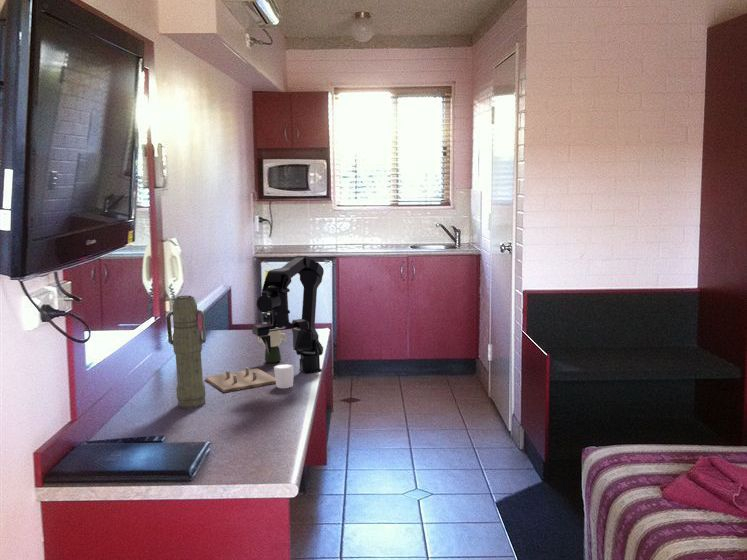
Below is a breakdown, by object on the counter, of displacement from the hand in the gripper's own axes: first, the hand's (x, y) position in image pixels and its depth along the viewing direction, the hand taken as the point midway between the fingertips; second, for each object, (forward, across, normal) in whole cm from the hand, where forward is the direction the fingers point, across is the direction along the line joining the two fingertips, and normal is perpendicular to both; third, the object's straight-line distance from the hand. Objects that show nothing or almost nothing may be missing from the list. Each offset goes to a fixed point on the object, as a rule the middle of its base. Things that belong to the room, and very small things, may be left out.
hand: (282, 352), depth 268 cm
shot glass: (+12, 0, 0) cm, 12 cm away
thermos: (+12, +33, +2) cm, 35 cm away
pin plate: (+12, +10, -15) cm, 21 cm away
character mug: (+12, -10, -34) cm, 37 cm away
